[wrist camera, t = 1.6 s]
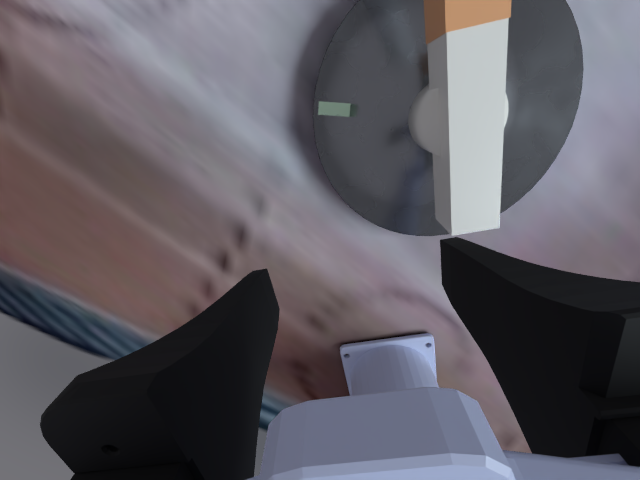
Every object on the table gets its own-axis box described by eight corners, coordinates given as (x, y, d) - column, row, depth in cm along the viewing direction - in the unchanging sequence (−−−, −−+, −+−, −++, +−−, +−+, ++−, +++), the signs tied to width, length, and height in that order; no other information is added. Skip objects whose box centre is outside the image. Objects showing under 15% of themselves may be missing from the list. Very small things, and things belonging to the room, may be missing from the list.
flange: (549, 207, 21) (567, 215, 19) (336, 243, 22) (337, 253, 21) (580, -76, 15) (610, -97, 13) (289, 0, 17) (285, -11, 15)
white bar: (478, 201, 19) (516, 225, 15) (415, 212, 20) (436, 238, 16) (481, -12, 15) (535, -54, 11) (399, 8, 15) (423, -25, 11)
